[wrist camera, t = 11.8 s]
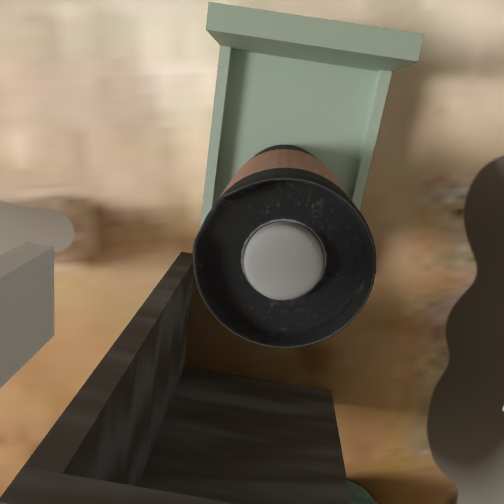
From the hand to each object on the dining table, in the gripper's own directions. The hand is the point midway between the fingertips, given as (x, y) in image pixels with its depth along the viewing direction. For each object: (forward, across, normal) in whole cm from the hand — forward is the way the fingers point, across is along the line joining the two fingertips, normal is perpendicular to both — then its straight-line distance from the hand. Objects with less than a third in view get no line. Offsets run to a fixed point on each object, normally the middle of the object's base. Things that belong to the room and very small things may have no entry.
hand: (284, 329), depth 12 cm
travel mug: (+26, 0, 0) cm, 26 cm away
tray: (+28, 0, +2) cm, 28 cm away
